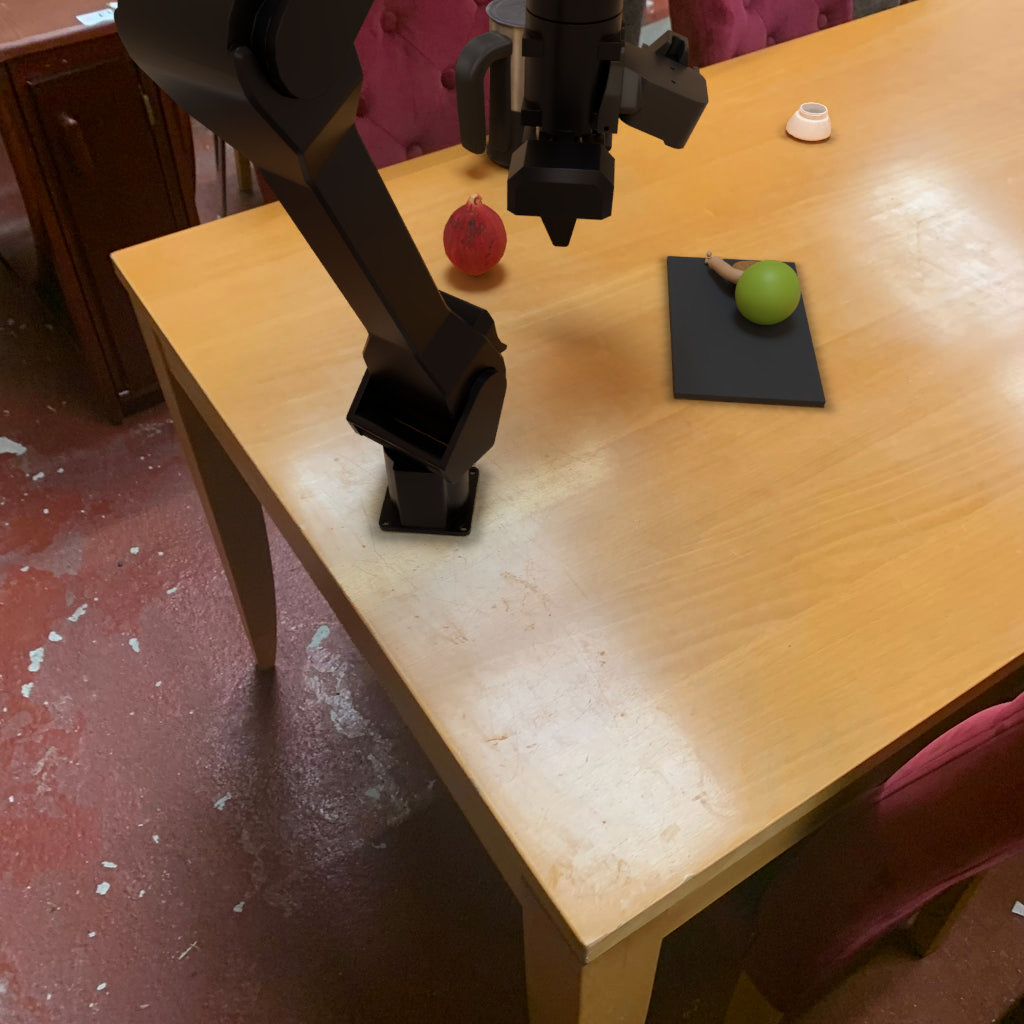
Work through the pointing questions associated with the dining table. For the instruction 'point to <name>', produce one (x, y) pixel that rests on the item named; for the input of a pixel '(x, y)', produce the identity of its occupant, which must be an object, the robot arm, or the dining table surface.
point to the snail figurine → (761, 288)
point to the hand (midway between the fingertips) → (561, 244)
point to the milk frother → (493, 83)
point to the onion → (474, 237)
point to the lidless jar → (810, 122)
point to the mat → (735, 343)
